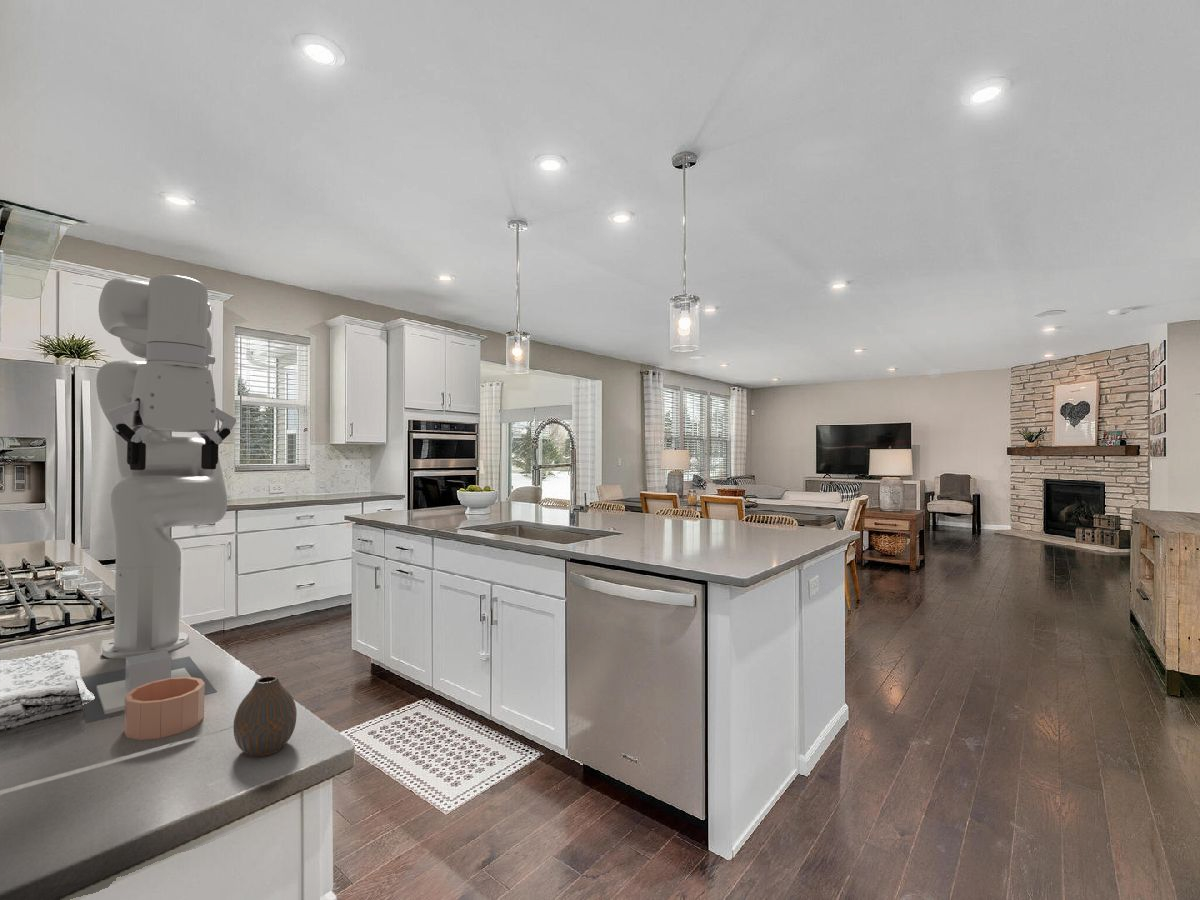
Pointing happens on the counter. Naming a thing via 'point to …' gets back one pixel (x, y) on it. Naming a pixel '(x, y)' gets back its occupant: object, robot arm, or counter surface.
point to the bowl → (163, 707)
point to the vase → (265, 718)
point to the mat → (94, 708)
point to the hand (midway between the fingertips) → (174, 469)
